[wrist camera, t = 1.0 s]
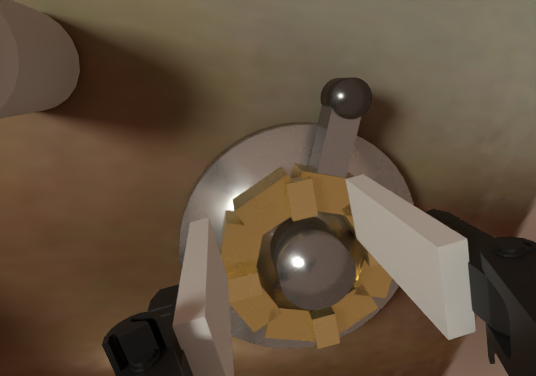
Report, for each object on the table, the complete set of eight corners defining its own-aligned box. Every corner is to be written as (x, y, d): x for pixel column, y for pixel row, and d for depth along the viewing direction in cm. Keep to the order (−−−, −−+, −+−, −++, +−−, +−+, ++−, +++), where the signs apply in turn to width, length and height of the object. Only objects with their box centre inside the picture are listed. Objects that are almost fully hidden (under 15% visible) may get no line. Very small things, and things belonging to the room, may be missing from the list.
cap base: (230, 365, 39) (233, 428, 32) (141, 173, 32) (120, 198, 25) (425, 290, 40) (471, 335, 33) (376, 87, 33) (421, 89, 26)
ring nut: (359, 325, 37) (376, 355, 33) (207, 312, 34) (206, 342, 30) (425, 96, 32) (456, 98, 28) (252, 58, 29) (258, 54, 25)
